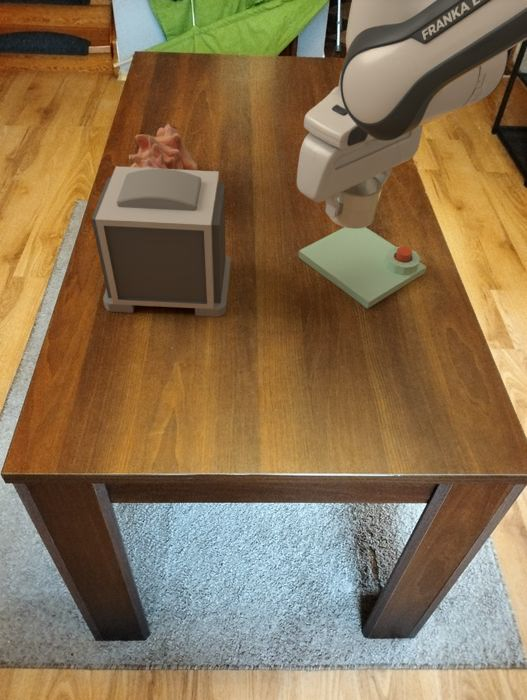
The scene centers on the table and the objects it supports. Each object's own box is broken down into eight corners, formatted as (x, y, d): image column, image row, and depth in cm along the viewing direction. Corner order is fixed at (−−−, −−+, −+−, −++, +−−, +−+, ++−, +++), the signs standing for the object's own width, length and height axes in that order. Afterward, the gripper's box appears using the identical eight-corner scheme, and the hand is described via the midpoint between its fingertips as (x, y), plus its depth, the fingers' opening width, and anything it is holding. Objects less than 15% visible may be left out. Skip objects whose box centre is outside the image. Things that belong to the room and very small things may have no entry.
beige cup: (384, 217, 81) (391, 186, 77) (352, 234, 78) (358, 202, 74) (350, 196, 84) (356, 165, 80) (318, 211, 81) (322, 180, 77)
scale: (424, 273, 95) (429, 259, 93) (367, 308, 88) (370, 294, 86) (355, 227, 103) (357, 213, 101) (297, 257, 96) (299, 242, 94)
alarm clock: (231, 261, 95) (230, 160, 81) (225, 317, 86) (223, 213, 72) (120, 256, 95) (101, 153, 81) (103, 311, 86) (78, 206, 72)
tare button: (413, 259, 93) (415, 251, 92) (403, 265, 92) (405, 257, 91) (401, 252, 94) (404, 244, 93) (392, 257, 93) (394, 250, 92)
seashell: (225, 209, 99) (161, 155, 88) (170, 250, 105) (105, 203, 94) (215, 135, 111) (158, 80, 101) (167, 175, 117) (109, 127, 107)
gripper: (406, 77, 76) (384, 171, 86) (293, 118, 66) (284, 219, 76) (445, 94, 72) (417, 190, 83) (332, 141, 63) (317, 242, 73)
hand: (353, 204), depth 79 cm, fingers closed on beige cup, 6 cm apart
